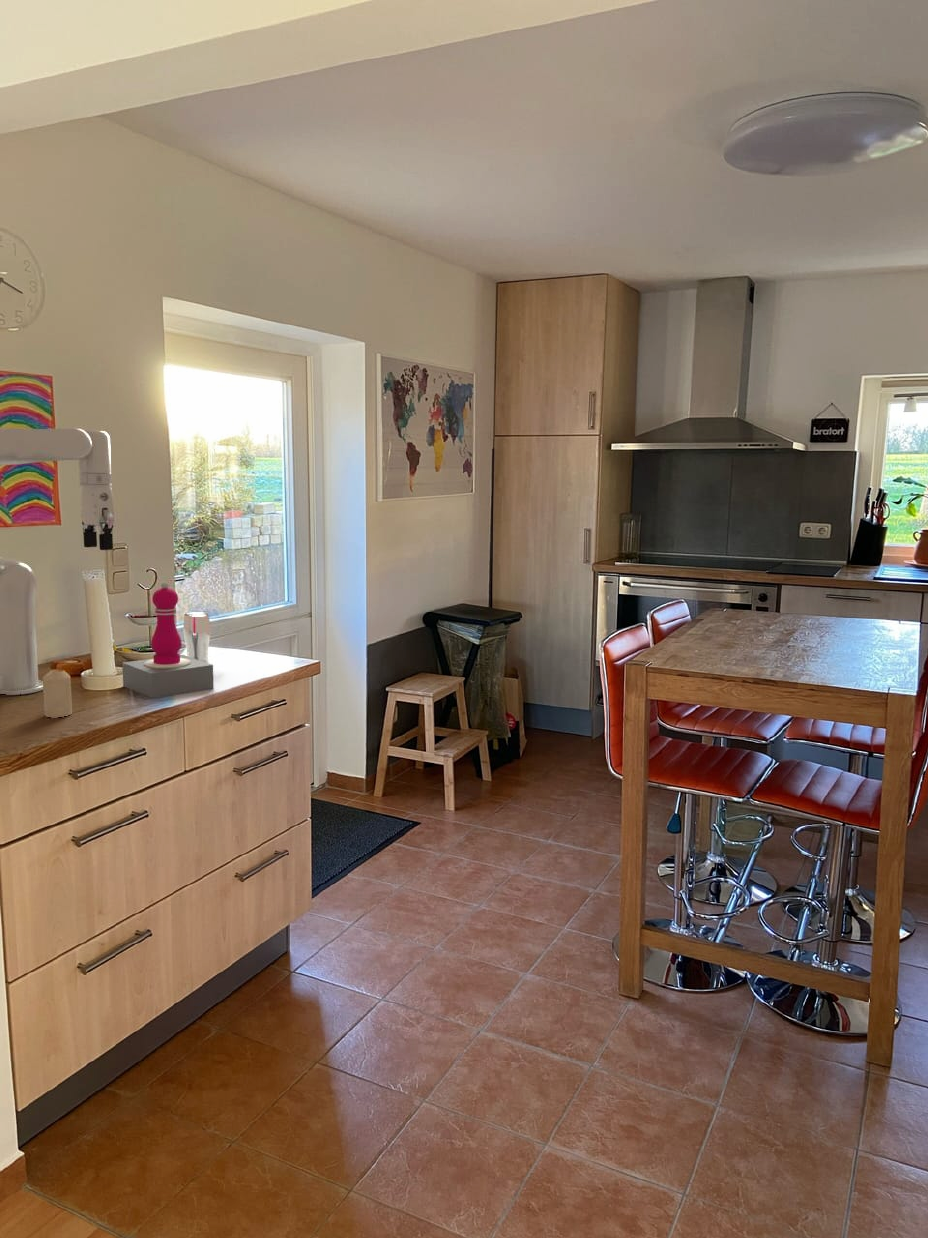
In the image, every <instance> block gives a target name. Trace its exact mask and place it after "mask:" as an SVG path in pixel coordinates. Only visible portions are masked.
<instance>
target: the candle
mask: <svg viewBox="0 0 928 1238" xmlns="http://www.w3.org/2000/svg"><path fill="white" fill-rule="evenodd" d="M42 681H43V690H42V691H43V707H44V709H43V710H44V711H43V712H44V716H46V717H45V718H47V717H51V718H50V719H59V718H58V717H63V718H65V717H64V716H67V717H69V716H68V715H70V714H73V702H72V700H73V699H72V685H71V684H72V683H71V675H70V674H69V673H68V672H66V671H65V670H64V669H62V670H58V669H56V668H55V669H51V670H49V672H47V673H46V674H44V676H43V677H42ZM70 716H71V715H70Z"/></svg>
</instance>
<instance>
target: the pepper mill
mask: <svg viewBox="0 0 928 1238" xmlns="http://www.w3.org/2000/svg"><path fill="white" fill-rule="evenodd" d="M169 586H170V585H169V583H168V582H166V581H163V582H162V583H161V584H160V587H161V588H159V589H156V590H155V591H154V592H153V594H152V598H151V600H152V604H153V605H154V606H155V608H154V611H155V612H154V614H155V615H156V626H155V627H156V628H155V630H154V633H153V636H152V637H151V641H150V643H151V644H150V648H151V650H152V651H153V652H154V653H155V654H154V655H153V656H152V657H153V658H152V659H153V660H154V663H155V664H162V665H167V664H175V663H179V662H180V655H181V654H180V653H179V651H180V650H181V649H182V647H183V645H182V639H181V636H180V634H179V631H178V629H177V626H176V623H175V621H176V620H175V615H176V614H177V608H176V605H177V604H178V603H179V596H178V595H179V594H177V592H176V591H175V590H174V589H173V588H172V589H171V588H169Z"/></svg>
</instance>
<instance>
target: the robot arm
mask: <svg viewBox="0 0 928 1238" xmlns="http://www.w3.org/2000/svg"><path fill="white" fill-rule="evenodd" d="M110 437H111V436H110V434H108V432H106V431H103V430H83V429H81V428H78V427H62V428H19V427H18V428H17V427H16V428H15V427H0V466H9V465H10V466H13V465H22V464H23V465H24V464H32V463H42V462H43V463H44V462H45V463H46V462H58V461H59V462H60V461H78V475H79V476H78V477H79V478H78V479H79V487H81V498H80V499H81V500H80V502H81V504H80V506H81V508H80V509H81V514H80V515H81V521H82V522H81V525H82V531H83V532H82V533H83V547H84V548H97V547H98V546H99V551H112V550H113V549H114V541H113V540H114V539H113V538H114V536H113V534H114V530H113V529H114V525H115V524H116V516H115V515H116V514H115V503H114V495H113V491H112V487H113V486H112V482H113V481H112V465H111V464H112V461H111V438H110ZM97 527H98V530H99V534H98V535H97V531H96V528H97ZM97 536H98V537H97ZM98 542H99V543H98ZM98 544H99V545H98ZM37 585H38V584H37V577H36V574H35V572H34V571H33V569H32V568H31V567H30V566H29V565H27V564H26V563H25V562H22V561H20V560H16V559H12V558H4V557H2V556H0V694H6V695H5V696H20V694H21V695H26V694H28V695H29V694H32V693H33V694H34V693H37V692H40V691H43V680H40V679H39V670H38V668H39V667H38V666H39V665H38V652H37V649H38V648H37V633H36V632H37V631H36V629H37V628H36V615H35V613H36V612H35V611H36V607H35V606H36V605H35V604H36V597H37V596H36V595H37V589H38V588H37Z"/></svg>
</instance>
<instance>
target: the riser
mask: <svg viewBox="0 0 928 1238" xmlns="http://www.w3.org/2000/svg"><path fill="white" fill-rule="evenodd" d="M179 655H180V662H179V663H175V664H167V665H162V664H155V663H154V660H153V658H146V659H140V660H139V659H138V660H132V661H123V662H121V664H122V665H121V666H122V686H123V687H125V688H127V689H129V690H131V691H134V692H136V693H138V694H141V695H143V696H145V697H148V698H150V699H157V698H164V697H169V696H170V697H171V696H176V695H180V694H181V695H182V694H189V693H194V692H199V691H200V692H201V691H206V690H212V689H214V685H215V684H214V665H213V664H212V663H209V662H208V663H206V662H203V661H200V660H197V659H194V658H191V657H188V656H187V655H185V654H179Z"/></svg>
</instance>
